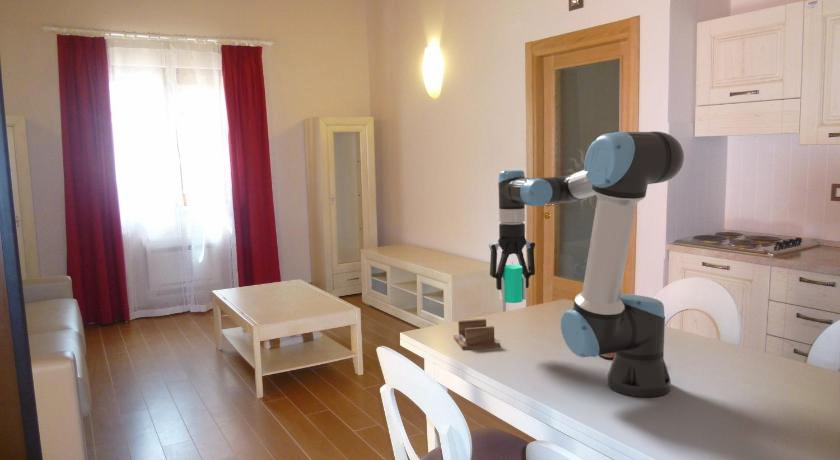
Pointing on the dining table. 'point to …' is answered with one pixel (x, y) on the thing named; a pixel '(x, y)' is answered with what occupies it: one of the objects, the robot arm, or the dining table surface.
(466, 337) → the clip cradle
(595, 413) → the dining table surface
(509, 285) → the candle
